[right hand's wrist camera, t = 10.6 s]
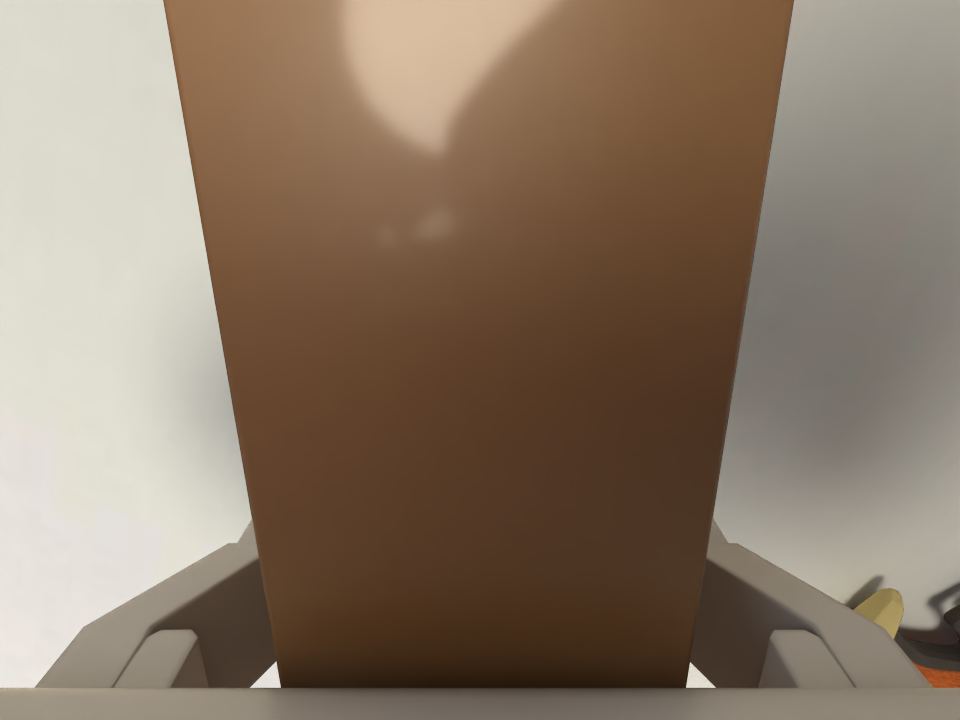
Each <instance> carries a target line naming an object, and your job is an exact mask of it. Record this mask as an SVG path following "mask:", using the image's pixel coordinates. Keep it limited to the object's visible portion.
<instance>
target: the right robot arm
mask: <svg viewBox="0 0 960 720" xmlns="http://www.w3.org/2000/svg"><path fill="white" fill-rule="evenodd" d="M275 662H276V655H275V649H274V643H273V638H272V632H271V626H270V620H269V614H268V608H267V602H266V597H265V591H264V585H263V579H262V573H261V567H260V562H259V556H258V550H257V544H256V538H255V532H254V527H253V521H252V519H251V521H250V523H249V524H248V526H247V528H246V529H245V531H244V533H243V534H242V536H241V538H240V539H239V541H238V543H228V544H226V545H225V546H223V547H221V548H220V549H218V550H216V551H214V552H213V553H211V554H209V555H207V556H206V557H204V558H202V559H201V560H199V561H197V562H195V563H194V564H192V565H190V566H188V567H187V568H185V569H183V570H182V571H180V572H178V573H176V574H175V575H173V576H171V577H169V578H168V579H166V580H164V581H163V582H161V583H159V584H157V585H156V586H154V587H152V588H150V589H149V590H147V591H145V592H144V593H142V594H140V595H138V596H137V597H135V598H133V599H131V600H130V601H128V602H126V603H124V604H123V605H121V606H119V607H118V608H116V609H114V610H112V611H111V612H109V613H107V614H105V615H104V616H102V617H100V618H99V619H97V620H95V621H93V622H92V623H90V624H88V625H86V626H85V627H83V629H82V630H81V631H80V632H79V633H78V635H77V636H76V637H75V638H74V640H73V641H72V642H71V643H70V645H69V646H68V647H67V648H66V650H65V651H64V652H63V653H62V654H61V656H60V657H59V658H58V659H57V661H56V662H55V663H54V664H53V666H52V667H51V668H50V669H49V671H48V672H47V673H46V674H45V676H44V677H43V678H42V679H41V680H40V682H39V683H38V684H37V685H36V687H35V688H0V720H960V688H933V687H932V686H931V685H930V683H929V682H928V681H927V680H926V678H925V677H924V676H923V675H922V673H921V672H920V671H919V670H918V669H917V667H916V666H915V665H914V664H913V662H912V661H911V660H910V659H909V658H908V656H907V655H906V654H905V653H904V651H903V650H902V649H901V648H900V647H899V645H898V644H897V643H896V642H895V640H894V639H893V638H892V637H891V636H890V634H889V633H888V632H887V631H886V629H885V628H883V627H882V626H880V625H878V624H876V623H875V622H873V621H871V620H869V619H868V618H866V617H864V616H863V615H861V614H859V613H857V612H856V611H854V610H852V609H850V608H849V607H847V606H845V605H843V604H842V603H840V602H838V601H836V600H835V599H833V598H831V597H830V596H828V595H826V594H824V593H823V592H821V591H819V590H817V589H816V588H814V587H812V586H810V585H809V584H807V583H805V582H803V581H802V580H800V579H798V578H796V577H795V576H793V575H791V574H790V573H788V572H786V571H784V570H783V569H781V568H779V567H777V566H776V565H774V564H772V563H770V562H769V561H767V560H765V559H763V558H762V557H760V556H758V555H757V554H755V553H753V552H751V551H750V550H748V549H746V548H744V547H743V546H741V545H739V544H737V543H728V542H727V540H726V539H725V537H724V536H723V534H722V532H721V531H720V529H719V527H718V526H717V524H716V523H715V521H714V519H713V518H712V524H711V531H710V537H709V544H708V550H707V556H706V563H705V569H704V575H703V582H702V588H701V594H700V601H699V607H698V613H697V620H696V626H695V633H694V639H693V645H692V652H691V658H690V662H691V663H692V664H693V665H694V666H695V667H696V668H697V669H698V670H699V671H700V672H701V673H702V674H703V675H704V676H705V677H706V678H707V679H708V680H709V681H710V682H711V683H712V684H713V685H714V686H715V687H716V688H250V687H251V686H252V685H253V684H254V683H255V682H256V681H257V680H258V679H259V678H260V677H261V676H262V675H263V674H264V673H265V672H266V671H267V670H268V669H269V668H270V667H271V666H272V665H273V664H274V663H275Z"/></svg>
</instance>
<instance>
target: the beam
mask: <svg viewBox="0 0 960 720" xmlns="http://www.w3.org/2000/svg"><path fill="white" fill-rule="evenodd" d="M163 1H164V7H165V12H166V18H167V24H168V30H169V36H170V42H171V47H172V53H173V59H174V65H175V71H176V77H177V83H178V88H179V94H180V100H181V106H182V112H183V118H184V123H185V129H186V135H187V141H188V147H189V153H190V158H191V164H192V170H193V176H194V182H195V188H196V194H197V199H198V205H199V211H200V217H201V223H202V229H203V234H204V240H205V246H206V252H207V258H208V264H209V269H210V275H211V281H212V287H213V293H214V299H215V305H216V310H217V316H218V322H219V328H220V334H221V340H222V345H223V351H224V357H225V363H226V369H227V375H228V380H229V386H230V392H231V398H232V404H233V410H234V416H235V421H236V427H237V433H238V439H239V445H240V451H241V456H242V462H243V468H244V474H245V480H246V486H247V491H248V497H249V503H250V509H251V515H252V521H253V527H254V532H255V538H256V544H257V550H258V556H259V562H260V567H261V573H262V579H263V585H264V591H265V597H266V602H267V608H268V614H269V620H270V626H271V632H272V638H273V643H274V649H275V655H276V661H277V667H278V673H279V678H280V684H281V688H686V683H687V677H688V671H689V664H690V658H691V652H692V645H693V639H694V633H695V626H696V620H697V613H698V607H699V601H700V594H701V588H702V582H703V575H704V569H705V563H706V556H707V550H708V544H709V537H710V531H711V524H712V518H713V512H714V505H715V499H716V493H717V486H718V480H719V474H720V467H721V461H722V455H723V448H724V442H725V436H726V429H727V423H728V416H729V410H730V404H731V397H732V391H733V385H734V378H735V372H736V366H737V359H738V353H739V347H740V340H741V334H742V327H743V321H744V315H745V308H746V302H747V296H748V289H749V283H750V277H751V270H752V264H753V258H754V251H755V245H756V239H757V232H758V226H759V219H760V213H761V207H762V200H763V194H764V188H765V181H766V175H767V169H768V162H769V156H770V150H771V143H772V137H773V130H774V124H775V118H776V111H777V105H778V99H779V92H780V86H781V80H782V73H783V67H784V61H785V54H786V48H787V42H788V35H789V29H790V22H791V16H792V10H793V3H794V0H163Z"/></svg>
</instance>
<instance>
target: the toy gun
mask: <svg viewBox="0 0 960 720" xmlns="http://www.w3.org/2000/svg"><path fill="white" fill-rule="evenodd" d="M854 611H856V612H857V613H859V614H861V615H863V616H864V617H866V618H868V619H869V620H871V621H873V622H875V623H876V624H878V625H880V626H882V627H883V628H885V629H886V631H887V632H888V633H889V634H890V636H891V637H892V638H893V639H894V640H895V642H896V643H897V644H898V645H899V647H900V648H901V649H902V650H903V651H904V653H905V654H906V655H907V656H908V658H909V659H910V660H911V661H912V662H913V664H914V665H915V666H916V667H917V669H918V670H919V671H920V672H921V673H922V675H923V676H924V677H925V678H926V680H927V681H928V682H929V683H930V685H931V686H932V687H933V688H960V605H958V606H956V607H955V608H953V609H951V610H949V611H948V612H946V613H945V614H944V620H945V621H946V622H947V623H948V624H949V625H950V626H951V627H952V628H953V629H954V630H955V631H956V633H957V635H958V637H959V641H958V643H957V644H954V645H937V644H930V643H924V642H919V641H915V640H911V639H908V638H906V637H904V636H903V635H901V634H900V633H899V631H898V627H899V625H900V622H901V619H902V617H903V611H904V608H903V602H902V597H901V595H900V593H899V591H897V590H894V589H891V588H888V589H880V590H878V591H877V592H875V593H874V594H873V595H871V596H870V597H869V598H868V599H866V600H865V601H864V602H862V603H861V604H860V605H859V606H857V607H856V608H855V609H854Z"/></svg>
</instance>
